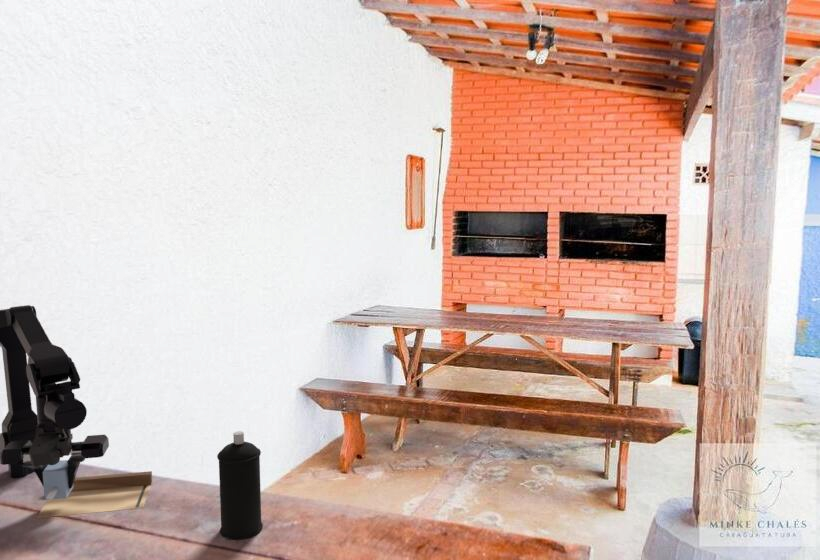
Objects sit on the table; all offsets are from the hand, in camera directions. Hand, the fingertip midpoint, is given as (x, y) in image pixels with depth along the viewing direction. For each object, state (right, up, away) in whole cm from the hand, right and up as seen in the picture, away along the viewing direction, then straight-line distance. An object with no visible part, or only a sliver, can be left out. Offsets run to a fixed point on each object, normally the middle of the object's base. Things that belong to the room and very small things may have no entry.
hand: (59, 488), depth 132 cm
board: (+6, -5, +5) cm, 9 cm away
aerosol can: (+38, -7, -4) cm, 39 cm away
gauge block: (0, -1, -2) cm, 2 cm away
